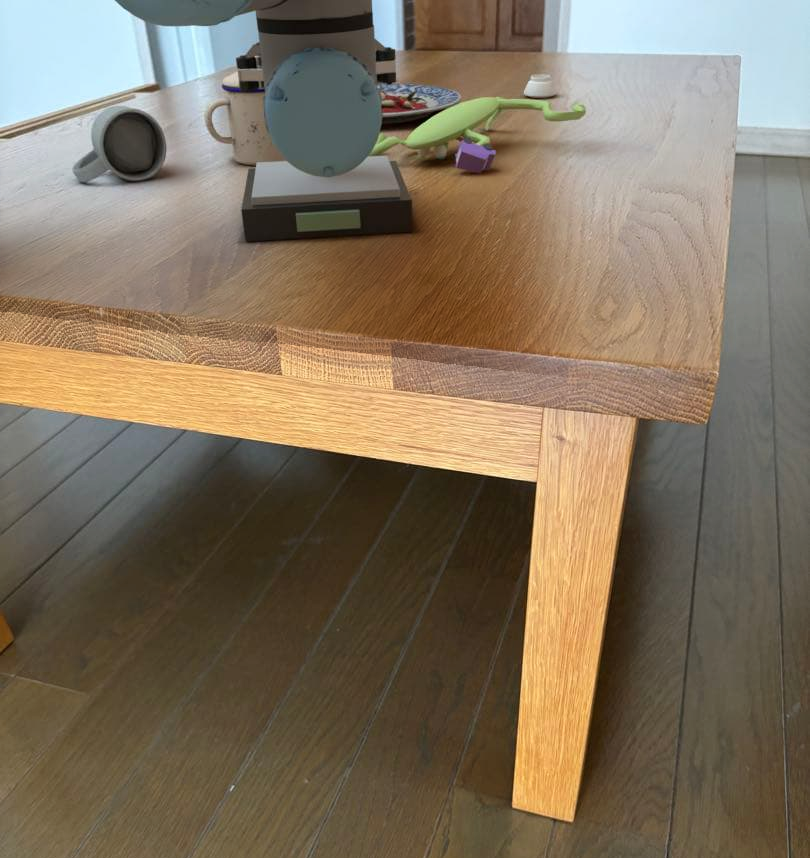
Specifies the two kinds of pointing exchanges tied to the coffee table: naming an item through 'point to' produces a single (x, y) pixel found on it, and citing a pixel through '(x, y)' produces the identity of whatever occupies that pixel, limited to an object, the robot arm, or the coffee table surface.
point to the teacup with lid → (244, 124)
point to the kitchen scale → (325, 202)
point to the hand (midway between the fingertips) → (313, 45)
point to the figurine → (469, 130)
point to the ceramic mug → (123, 146)
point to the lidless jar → (540, 87)
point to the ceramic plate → (413, 101)
